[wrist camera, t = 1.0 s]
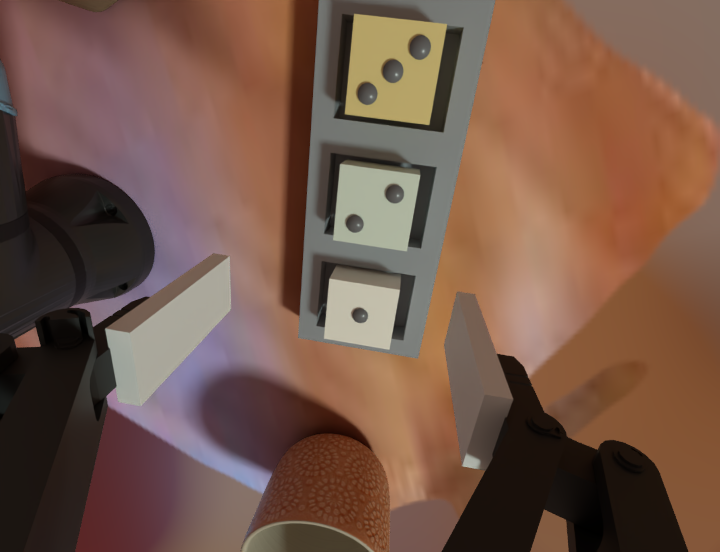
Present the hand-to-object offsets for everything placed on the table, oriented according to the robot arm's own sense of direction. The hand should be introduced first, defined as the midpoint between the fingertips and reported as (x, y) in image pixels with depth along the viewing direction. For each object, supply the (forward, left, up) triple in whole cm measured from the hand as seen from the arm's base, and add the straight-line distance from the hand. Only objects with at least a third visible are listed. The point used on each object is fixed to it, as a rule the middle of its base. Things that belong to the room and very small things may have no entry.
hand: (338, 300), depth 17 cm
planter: (-1, -40, -26) cm, 48 cm away
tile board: (0, 0, -26) cm, 26 cm away
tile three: (0, +11, -23) cm, 25 cm away
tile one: (0, -11, -23) cm, 25 cm away
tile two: (0, 0, -23) cm, 23 cm away
